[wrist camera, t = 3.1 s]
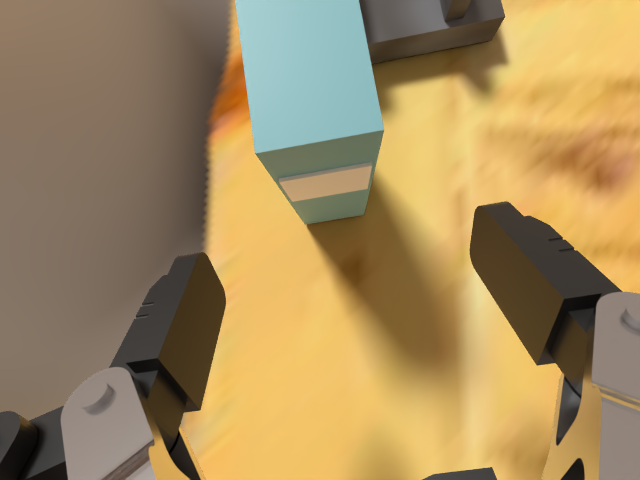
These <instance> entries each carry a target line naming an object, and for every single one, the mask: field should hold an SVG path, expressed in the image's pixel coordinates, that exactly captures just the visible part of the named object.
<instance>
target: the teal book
mask: <svg viewBox="0 0 640 480" xmlns="http://www.w3.org/2000/svg"><path fill="white" fill-rule="evenodd" d="M235 2H236V10H237V18H238V25H239V33H240V41H241V48H242V56H243V64H244V71H245V79H246V87H247V94H248V102H249V110H250V118H251V125H252V133H253V141H254V148H255V154H256V155H257V157H258V158H259V160H260V161H261V162H262V164H263V165H264V167H265V168H266V170H267V171H268V172H269V174H270V175H271V177H272V178H273V180H274V181H275V182H276V184H277V185H278V187H279V188H280V189H281V191H282V192H283V194H284V195H285V197H286V198H287V199H288V201H289V202H290V204H291V205H292V207H293V208H294V209H295V211H296V212H297V214H298V215H299V217H300V218H301V219H302V221H303V222H304V224H305V225H306V224H312V223H318V222H324V221H330V220H336V219H342V218H348V217H354V216H359V215H364V213H365V209H366V205H367V200H368V196H369V192H370V188H371V183H372V179H373V175H374V171H375V166H376V162H377V158H378V154H379V149H380V145H381V141H382V137H383V132H384V127H383V121H382V116H381V111H380V106H379V101H378V96H377V91H376V86H375V80H374V75H373V70H372V65H371V60H370V55H369V50H368V45H367V39H366V34H365V29H364V24H363V19H362V14H361V9H360V4H359V0H235Z"/></svg>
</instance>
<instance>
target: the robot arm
mask: <svg viewBox="0 0 640 480" xmlns="http://www.w3.org/2000/svg"><path fill="white" fill-rule="evenodd" d="M562 238H563V237H562V236H561V235H559V234H558V233H557V232H556V231H555V230H554V229H553V228H552V227H551V226H550V225H548V224H546V223H544V222H542V221H540V220H538V219H536V218H534V217H531V216H523V215H522V214H521V213H520V212H519V211H518V210H517V209H516V208H515V207H514V206H513V205H511V204H510V203H509V202H500V203H494V204H488V205H482V206H478V207H477V208H476V210H475V213H474V220H473V228H472V235H471V243H470V258H471V262H472V265H473V267H474V269H475V270H476V272H477V274H478V275H479V277H480V278H481V280H482V281H483V283H484V284H485V286H486V287H487V289H488V291H489V292H490V294H491V295H492V297H493V298H494V300H495V301H496V303H497V305H498V306H499V308H500V309H501V311H502V312H503V314H504V315H505V317H506V318H507V320H508V322H509V323H510V325H511V326H512V328H513V329H514V331H515V332H516V334H517V336H518V337H519V339H520V340H521V342H522V343H523V345H524V346H525V348H526V349H527V351H528V353H529V354H530V356H531V357H532V359H533V360H534V362H535V363H536V365H544V364H551V363H556V364H557V365H558V367H559V368H560V370H561V371H562V374H561V376H560V379H559V385H558V392H557V399H556V407H555V414H554V421H553V428H552V436H551V443H550V449H549V454H548V458H547V462H546V464H545V467H544V470H543V474H542V478H541V480H640V294H637V293H631V292H622V291H621V290H620V289H619V288H618V287H617V286H616V285H614V284H613V283H612V282H611V281H610V280H609V279H608V278H607V277H606V276H605V275H603V274H602V273H601V272H600V271H599V270H598V269H597V268H596V267H595V266H594V265H592V264H591V263H590V262H589V261H588V260H587V259H586V258H585V257H584V256H583V255H581V254H580V253H579V252H578V251H575V250H574V247H573V246H572V245H570V244H569V243H568V242H567V241H566V240H563V239H562ZM142 305H143V306H142V307H140V309H139V312H138V313H137V315H136V319H134V321H133V323H132V325H131V327H130V329H129V330H128V332H127V334H126V336H125V338H124V340H123V342H122V344H121V346H120V348H119V350H118V352H117V354H116V356H115V358H114V359H113V362H112V363H111V365H110V367H109V368H107V369H105V370H102V371H100V372H97V373H96V374H94V375H92V376H91V377H89V378H88V379H86V380H85V381H84V382H83V383H82V384H81V385H79V386H78V387H77V388H76V390H75V391H74V392H73V393H72V394H71V396H70V397H69V398H68V400H67V402H66V403H65V405H64V406H62V407H60V408H58V409H55V410H53V411H51V412H48V413H46V414H44V415H41V416H39V417H37V418H35V419H32V420H30V421H28V420H26V419H25V418H23V417H22V416H20V415H18V414H17V413H15V412H11V411H6V412H1V413H0V480H206V478H205V476H204V474H203V472H202V470H201V467H200V465H199V463H198V461H197V459H196V457H195V454H194V452H193V450H192V448H191V446H190V443H189V441H188V439H187V437H186V435H185V432H184V430H183V429H182V427H181V426H180V424H181V420H182V417H183V413H184V412H192V411H199V410H201V406H202V401H203V397H204V393H205V389H206V385H207V381H208V377H209V373H210V368H211V364H212V360H213V356H214V352H215V348H216V344H217V340H218V335H219V331H220V327H221V323H222V319H223V315H224V311H225V306H226V297H225V292H224V288H223V286H222V284H221V282H220V280H219V278H218V276H217V274H216V272H215V270H214V268H213V266H212V264H211V262H210V260H209V258H208V256H207V255H206V254H205V253H204V252H200V253H195V254H190V255H183V256H178V257H177V258H176V259H175V260H174V262H173V265H172V267H171V269H170V271H169V273H168V275H164V276H162V277H161V278H160V279H159V280H158V281H157V282H156V283H155V284H154V285H153V286H152V288H151V289H150V290H149V292H148V294H147V296H146V298H145V299H144V302H143V303H142ZM423 480H497V478H496V476H495V473H494V471H493V469H492V467H490V468H482V469H474V470H465V471H457V472H449V473H440V474H433V475H431V476H429V477H427V478H425V479H423Z"/></svg>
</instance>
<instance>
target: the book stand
mask: <svg viewBox="0 0 640 480" xmlns="http://www.w3.org/2000/svg"><path fill="white" fill-rule="evenodd" d="M359 4H360V9H361V14H362V19H363V24H364V29H365V34H366V39H367V45H368V50H369V55H370V60H371V64H373V63H378V62H383V61H388V60H394V59H399V58H404V57H409V56H414V55H419V54H424V53H429V52H434V51H439V50H444V49H449V48H454V47H460V46H465V45H470V44H475V43H480V42H485V41H490V40H492V38H493V37H494V35H495V33H496V32H497V30H498V28H499V26H500V25H501V23H502V21H503V20H504V18H505V14H504V10H503V7H502V3H501V0H359Z"/></svg>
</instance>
